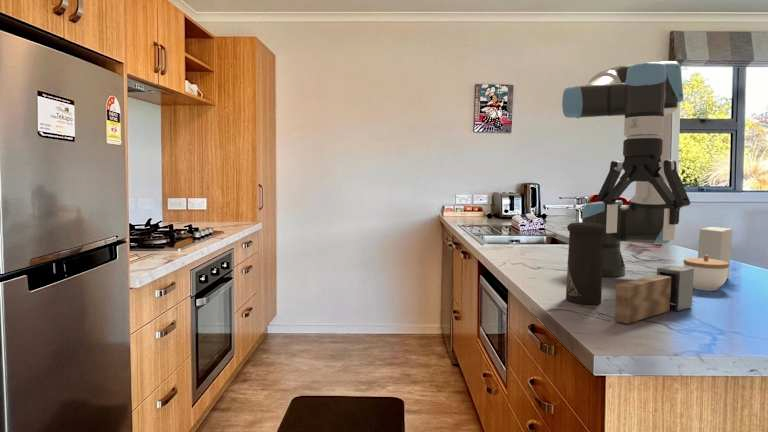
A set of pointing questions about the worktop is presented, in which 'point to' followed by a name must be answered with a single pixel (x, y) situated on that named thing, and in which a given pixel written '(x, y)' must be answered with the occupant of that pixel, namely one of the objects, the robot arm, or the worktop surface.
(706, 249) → the skincare box
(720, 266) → the lidded jar
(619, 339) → the worktop surface
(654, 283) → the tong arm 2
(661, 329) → the worktop surface
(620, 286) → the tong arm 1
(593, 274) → the container
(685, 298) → the grey angled block
